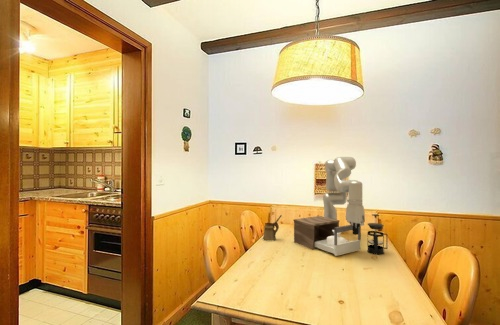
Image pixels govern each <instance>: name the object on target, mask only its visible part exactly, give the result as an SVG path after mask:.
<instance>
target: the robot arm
mask: <svg viewBox="0 0 500 325" xmlns="http://www.w3.org/2000/svg"><path fill="white" fill-rule="evenodd" d="M356 166H357V161H356V159H355V158H354V157H352V156H338V157H336V158H334V159H328V160H326V161H325V162H324V169H325V172H326V177H325V178H326V180H325V189H326V191H328V192H325V193H324V194H322V200H323V201H322V202H323V217H327V218H331V219H336V220H338V211H337V208H336V207H335V205H336V206H337V205H339V206H340V205H345V204H346V202H347V205H346V209H345V221H347V223H349V225H351V227H352V230H351V232H352V235H354V236H356V235H357V236H358V233H359V227H360V226H361V227H363V226H365V221H366V215H365V208H364V205H363V182H362V181H359V180H355V179H352V180H351V179H348V180H347V178H349V177H350V176H351V174H352V171H353V170H354V169H355V168H356ZM347 198H348V199H347Z"/></svg>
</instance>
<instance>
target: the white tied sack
mask: <svg viewBox="0 0 500 325" xmlns="http://www.w3.org/2000/svg"><path fill="white" fill-rule="evenodd" d="M332 231H333V232H334V230H332ZM341 233H342V232H340V233H337V244H341V243H345V242H346V240H347V238H345V237H343V236H341ZM327 244H328V245H330V246H332V247H334V236H328V237H327Z"/></svg>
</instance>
